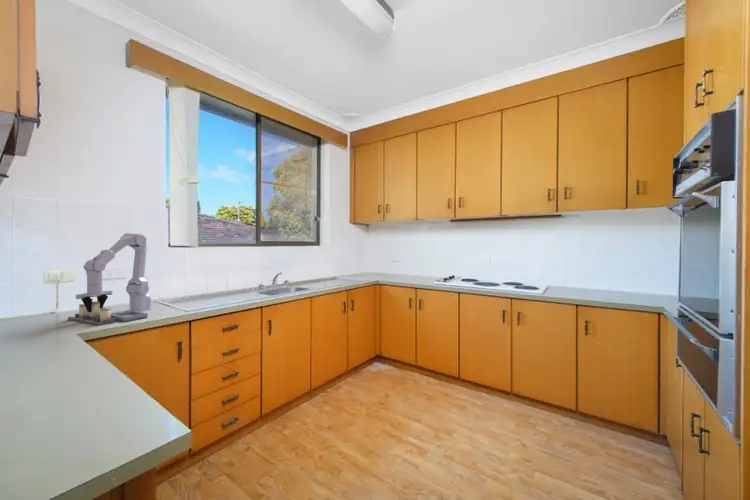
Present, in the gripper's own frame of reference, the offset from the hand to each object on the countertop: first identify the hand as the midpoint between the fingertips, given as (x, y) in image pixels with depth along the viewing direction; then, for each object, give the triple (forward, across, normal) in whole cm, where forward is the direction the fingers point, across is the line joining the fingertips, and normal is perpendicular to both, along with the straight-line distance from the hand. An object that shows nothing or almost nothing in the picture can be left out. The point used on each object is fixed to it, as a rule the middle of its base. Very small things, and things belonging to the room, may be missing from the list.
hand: (94, 311), depth 161 cm
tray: (+4, -10, +10) cm, 15 cm away
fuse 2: (+4, 0, +9) cm, 10 cm away
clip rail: (+4, 0, 0) cm, 4 cm away
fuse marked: (+2, 0, 0) cm, 2 cm away
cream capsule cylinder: (+4, 0, -9) cm, 10 cm away
